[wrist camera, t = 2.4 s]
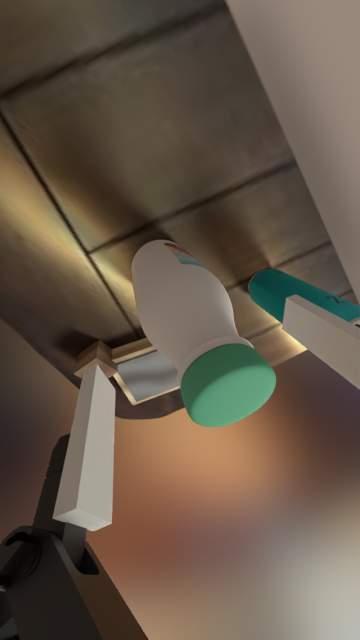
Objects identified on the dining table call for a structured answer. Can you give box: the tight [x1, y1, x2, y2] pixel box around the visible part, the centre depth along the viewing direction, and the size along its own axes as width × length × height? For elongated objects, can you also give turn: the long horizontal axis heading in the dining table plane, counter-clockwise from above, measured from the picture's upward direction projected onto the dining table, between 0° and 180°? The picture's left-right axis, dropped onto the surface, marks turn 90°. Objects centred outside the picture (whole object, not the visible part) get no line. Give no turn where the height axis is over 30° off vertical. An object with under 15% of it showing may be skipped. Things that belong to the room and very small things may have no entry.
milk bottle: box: [131, 240, 276, 427], centre depth 17 cm, size 8×8×20 cm
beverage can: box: [248, 269, 360, 325], centre depth 24 cm, size 6×6×15 cm
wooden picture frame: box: [112, 338, 180, 405], centre depth 32 cm, size 12×12×3 cm
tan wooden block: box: [74, 340, 118, 379], centre depth 28 cm, size 4×4×4 cm
